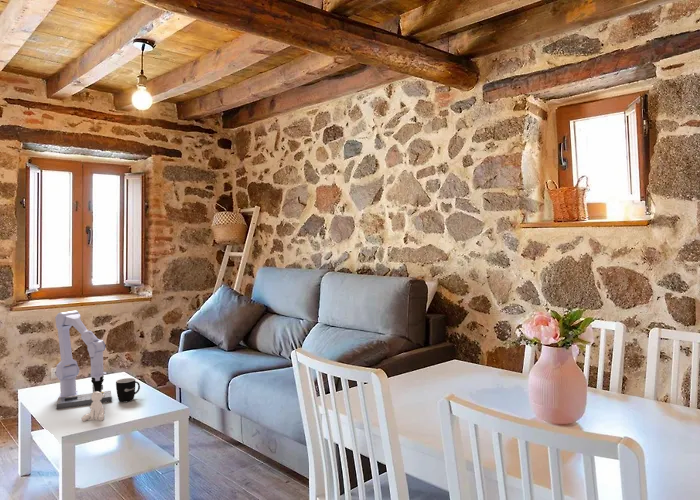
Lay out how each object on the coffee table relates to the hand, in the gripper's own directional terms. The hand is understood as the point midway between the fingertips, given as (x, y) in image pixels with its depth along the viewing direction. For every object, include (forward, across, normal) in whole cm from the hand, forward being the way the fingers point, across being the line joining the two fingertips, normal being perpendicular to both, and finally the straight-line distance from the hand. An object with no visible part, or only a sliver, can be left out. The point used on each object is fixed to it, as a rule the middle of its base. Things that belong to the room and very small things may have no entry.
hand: (98, 392), depth 265 cm
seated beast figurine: (+4, -30, +1) cm, 30 cm away
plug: (+3, 0, 0) cm, 3 cm away
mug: (+4, -7, -14) cm, 16 cm away
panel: (+4, 0, +6) cm, 7 cm away
